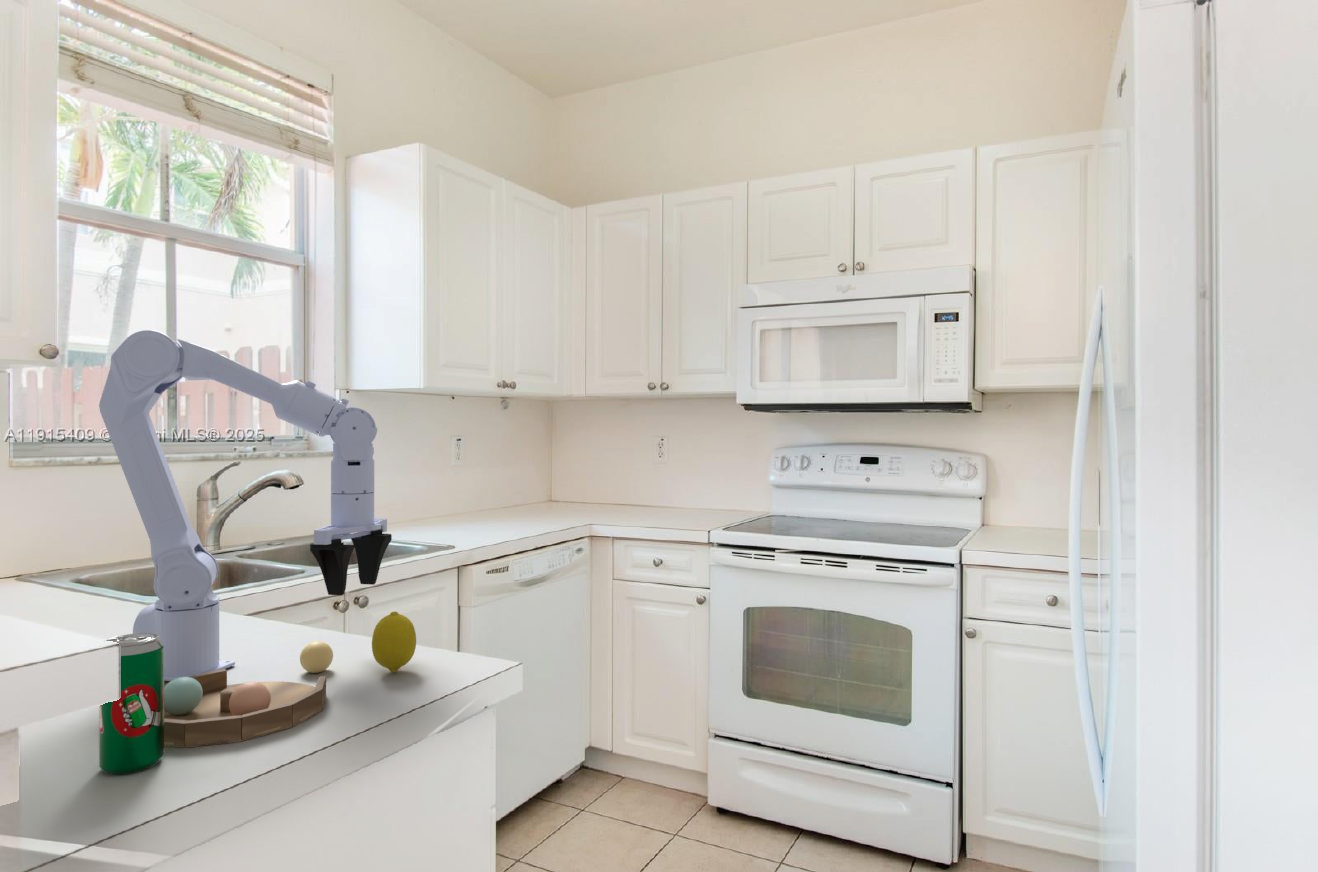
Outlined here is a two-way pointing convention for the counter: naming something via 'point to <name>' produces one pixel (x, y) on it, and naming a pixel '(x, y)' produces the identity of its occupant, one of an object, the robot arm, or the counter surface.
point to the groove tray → (220, 726)
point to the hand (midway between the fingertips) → (352, 589)
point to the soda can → (135, 708)
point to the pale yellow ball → (316, 657)
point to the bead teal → (182, 695)
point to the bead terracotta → (249, 698)
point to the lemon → (393, 641)
